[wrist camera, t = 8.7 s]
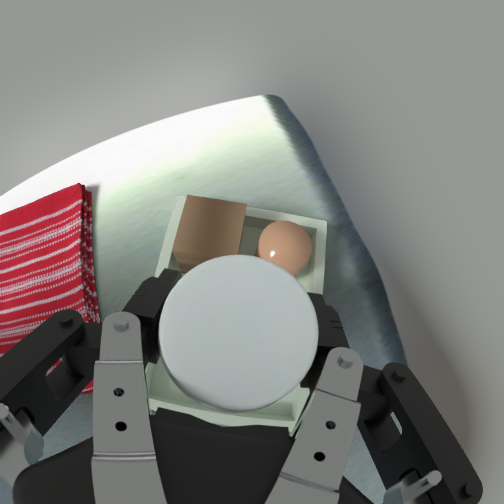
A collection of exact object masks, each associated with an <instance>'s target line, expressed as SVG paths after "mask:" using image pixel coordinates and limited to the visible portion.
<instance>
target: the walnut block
mask: <svg viewBox="0 0 504 504" xmlns="http://www.w3.org/2000/svg"><path fill="white" fill-rule="evenodd" d="M246 207H247V204H242V203H236V202H230V201H224V200H218V199H211V198H205V197H198V196H191V195H187V198H186V201H185V204H184V208H183V211H182V215H181V218H180V222H179V225H178V229H177V233H176V236H175V240H174V244H173V248H172V252H173V254H174V256H175V258H176V260H177V262H178V264H179V267H180V269H181V271H182V273H187V272H189V271H190V270H191V269H193V268H194V267H196V266H198V265H199V264H202V263H204V262H206V261H208V260H211V259H214V258H218V257H222V256H228V255H239V251H240V245H241V240H242V234H243V227H244V220H245V213H246Z"/></svg>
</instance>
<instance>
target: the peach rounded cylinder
mask: <svg viewBox="0 0 504 504" xmlns="http://www.w3.org/2000/svg"><path fill="white" fill-rule="evenodd" d="M311 252H312V243H311V239H310V237H309V235H308V233H307V232H306V231H305V230H304V229H303V228H302V227H301V226H300V225H298V224H296V223H294V222H291V221H285V220H281V221H276V222H273V223H271V224H269V225H268V226H267V227H266V228H265V229H264V230H263V232H262V234H261V236H260V239H259V243H258V246H257V250H256V253H255V257H259V258H263V259H266V260H268V261H271V262H273V263H275V264H277V265H278V266H280V267H282V268H283V269H285V270H286V271H288V272H289V273H290V274H291V275H292V276H293V277H295V275H296V274H297V273H298V272H299V271H300V269H301V268H302V267H303V266H304V265H305V263H306V262H307V261H308V260H309V258H310V256H311Z"/></svg>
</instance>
